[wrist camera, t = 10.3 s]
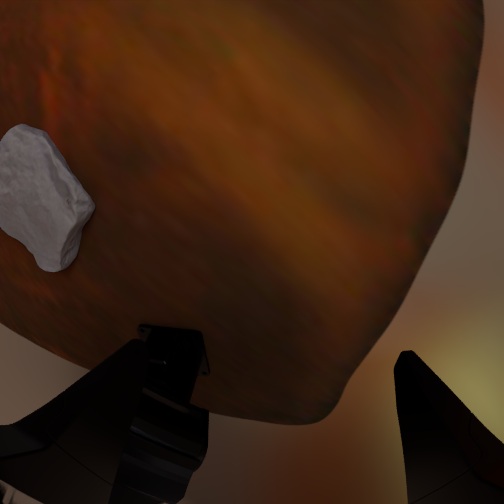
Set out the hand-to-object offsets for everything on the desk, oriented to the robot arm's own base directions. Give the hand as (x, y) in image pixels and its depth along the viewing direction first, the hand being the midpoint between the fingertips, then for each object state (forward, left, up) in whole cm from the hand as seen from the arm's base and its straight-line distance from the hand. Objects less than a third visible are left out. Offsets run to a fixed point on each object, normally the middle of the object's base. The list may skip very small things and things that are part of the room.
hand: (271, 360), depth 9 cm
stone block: (+3, +20, -12) cm, 24 cm away
